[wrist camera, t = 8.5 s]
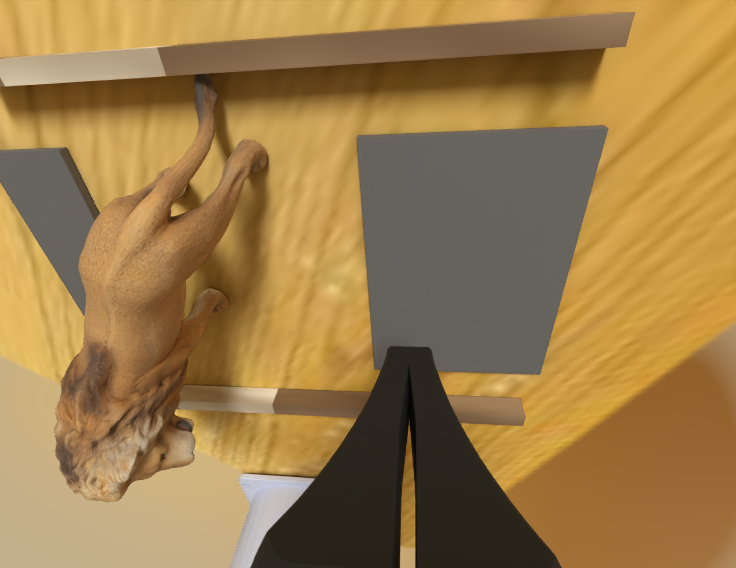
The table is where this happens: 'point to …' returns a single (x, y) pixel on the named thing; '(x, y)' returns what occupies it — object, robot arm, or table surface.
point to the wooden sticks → (313, 53)
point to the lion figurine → (144, 321)
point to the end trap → (52, 207)
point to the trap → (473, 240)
